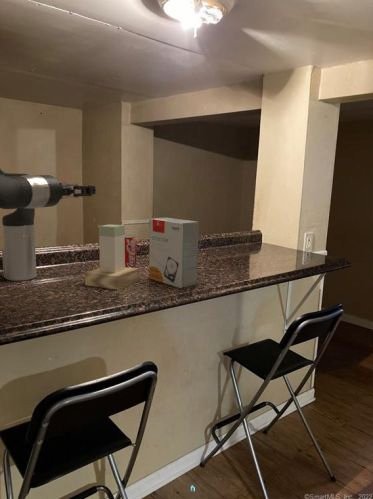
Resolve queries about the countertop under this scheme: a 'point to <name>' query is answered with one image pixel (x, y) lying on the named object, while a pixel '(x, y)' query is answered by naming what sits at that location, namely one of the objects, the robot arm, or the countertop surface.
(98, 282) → the podium
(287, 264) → the countertop surface
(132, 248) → the soda can
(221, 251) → the countertop surface
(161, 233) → the hard drive box
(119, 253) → the carton
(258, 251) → the countertop surface
